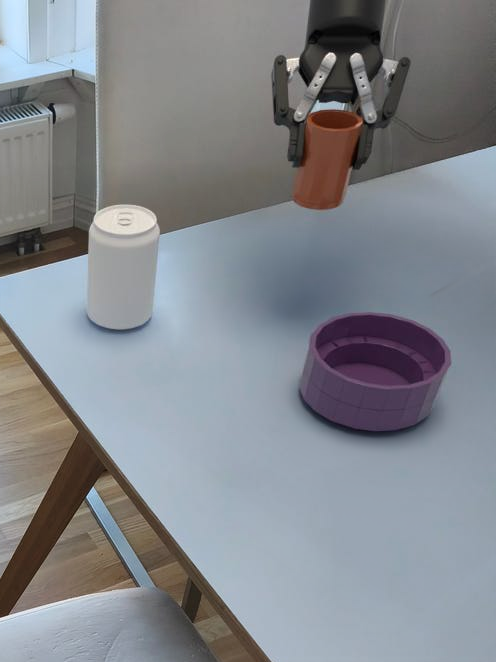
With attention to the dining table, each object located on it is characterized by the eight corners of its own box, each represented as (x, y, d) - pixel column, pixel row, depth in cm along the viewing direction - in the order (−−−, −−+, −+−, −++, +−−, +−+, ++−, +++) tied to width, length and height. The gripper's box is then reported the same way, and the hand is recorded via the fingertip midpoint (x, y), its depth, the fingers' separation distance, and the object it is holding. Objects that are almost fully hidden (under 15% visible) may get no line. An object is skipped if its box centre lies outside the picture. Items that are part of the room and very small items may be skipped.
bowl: (352, 345, 103) (366, 297, 99) (458, 400, 96) (479, 352, 91) (271, 393, 98) (281, 345, 93) (376, 455, 91) (394, 406, 86)
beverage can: (83, 332, 107) (86, 235, 98) (89, 297, 112) (92, 201, 103) (150, 335, 106) (159, 237, 97) (153, 299, 111) (162, 203, 102)
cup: (296, 184, 100) (311, 106, 94) (347, 190, 98) (366, 112, 92) (286, 206, 96) (301, 127, 90) (339, 213, 95) (359, 133, 89)
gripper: (282, -29, 88) (262, 147, 90) (432, -29, 86) (408, 151, 88) (272, 17, 96) (253, 178, 98) (410, 18, 94) (388, 183, 96)
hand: (327, 164), depth 93 cm, fingers closed on cup, 5 cm apart
